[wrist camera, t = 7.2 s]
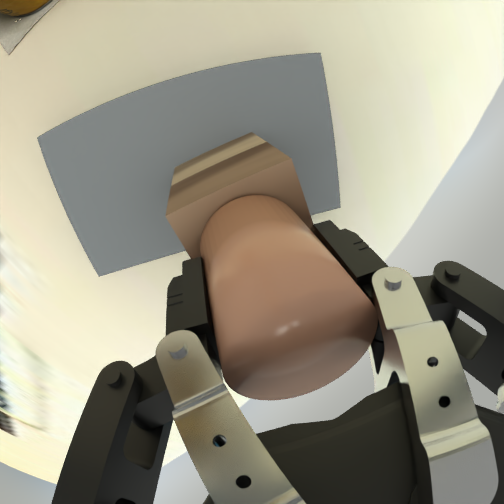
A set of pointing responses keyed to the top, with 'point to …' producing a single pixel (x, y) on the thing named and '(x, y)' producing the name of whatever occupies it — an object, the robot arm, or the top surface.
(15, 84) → the top surface
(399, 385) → the robot arm
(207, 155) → the block base
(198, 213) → the block top
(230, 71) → the board
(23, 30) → the condiment
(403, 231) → the top surface
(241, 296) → the pink cylinder
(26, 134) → the top surface
